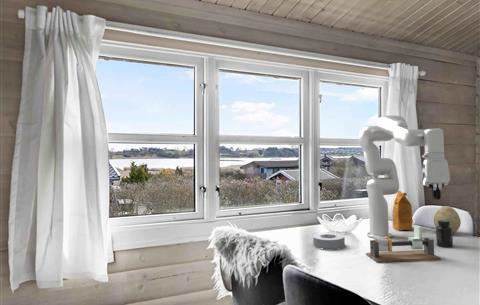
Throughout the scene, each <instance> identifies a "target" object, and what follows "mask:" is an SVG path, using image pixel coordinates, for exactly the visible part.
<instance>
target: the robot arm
mask: <svg viewBox="0 0 480 305" xmlns="http://www.w3.org/2000/svg"><path fill="white" fill-rule="evenodd" d="M392 139H394V141H395V142H396V143H398V144H400V145H402V146H406V147H424V154H422V155H421V157H422V158H424V160H423V162H422V168H421V169H422V170H421V180H422V185H423V186H424V187H428V188H429V189H430V190H431V198H432V199H433V200H435V201H436V200H441V196H442V195H441V192H442V190H443V188H444V187H445V186H448V185H449V183H450V181H451V175H450V168H449V163H448V160H447V159H445V141H444V140H445V138H444V130H443V129H442V128H438V127H437V128H426V129H409V126H408V124H407V121H406V119H405V117H404V116H401V115H382V116H380V117H379V118H378V119H377V120H376V125H369V126H364V127H363V128H361V129H360V131H359V134H358V141H359V144H360V147H361V148H360V149H361V151H362V154H363V159H364V165H365V170H366V173H367V174H368V175H369V176H372V178H370V179H368V180H367V182H366V186H365V187H366V191H367V196H368V209H369V210H368V213H369V215H368V216H369V217H368V218H369V232H367V233H366V236H367V237H369V238H371V239H374V238H382V237H383V238H384V237H388V238H390V239H392V237H393V235H392V233H391V232H390V230H389V229H390V228H389V208H388V207H389V206H388V201H387V200H386V198H385V197H384V196H390V195H397V193H398V191H400V181H399V176H398V171H397V166H396V163H395V161H394V160H393V159H391V158H389V157H381V154H380V149H379V147H378V145H376V144H375V143H374V142H389V141H391V140H392ZM375 176H378V177H375ZM379 176H384V177H379ZM373 177H374V178H373Z"/></svg>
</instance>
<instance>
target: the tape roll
mask: <svg viewBox="0 0 480 305" xmlns="http://www.w3.org/2000/svg"><path fill="white" fill-rule="evenodd" d="M345 239H346V238H345V236H344V234H340V233H337V232H336V233H335V232H319V233H315V234H314V235H313V237H312V241H313V242H312V243H313V244H312V246H313V245H314V246H315V247H318V248H323V249H322V250H324V249H336V250H339V249H338V248H342V249H344V248H345V247H346V244H345ZM314 246H313V247H314ZM315 247H314V248H315ZM343 247H344V248H343ZM318 248H317V249H318Z"/></svg>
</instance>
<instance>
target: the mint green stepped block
mask: <svg viewBox="0 0 480 305" xmlns="http://www.w3.org/2000/svg"><path fill="white" fill-rule="evenodd" d="M413 235H414V236H408V237H407V241H412V245H409V246H407V247H408V248H410V249H411V250H424V245H423V244H422V240H423V227H422V226H420V225H417V224H414V225H413Z"/></svg>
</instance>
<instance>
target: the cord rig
mask: <svg viewBox="0 0 480 305" xmlns="http://www.w3.org/2000/svg"><path fill="white" fill-rule="evenodd" d="M434 240H435V239H432V238H430V237H423V239H422V244H423V249H415V250H399V251H397V250H396V251H395V250H394V251H393V247H408V246H409V245H412V241H408V240H399V241H392V238H388V237H384V238H383V237H382V238H373V239H372V240H371V239H370V240H369V246H370V252H365V255H366V256H367V257H368V258H369V259H371V260H372V259H373V260H372V261H374V262H375V261H376V262H375V263H377V264H384V263H383V262H386V263H403V262H404V263H406V262H422V261H423V262H424V261H425V262H426V261H441V259H442V258H441V257H440V256H438V255H436V254H435V242H434Z"/></svg>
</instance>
